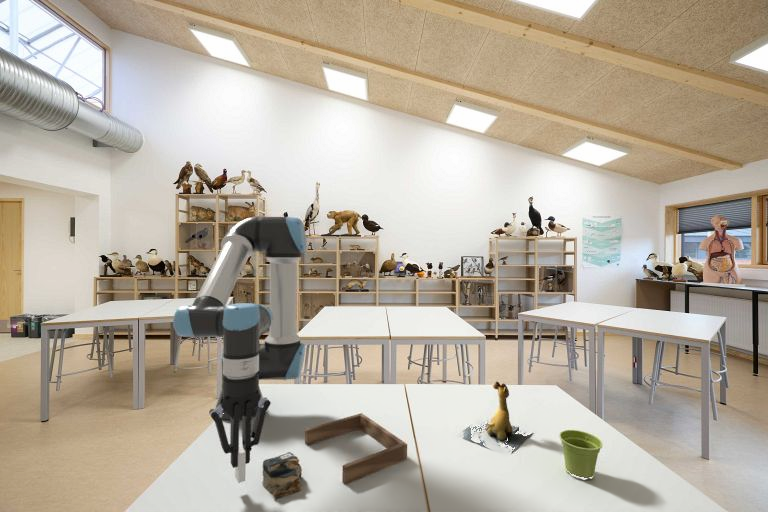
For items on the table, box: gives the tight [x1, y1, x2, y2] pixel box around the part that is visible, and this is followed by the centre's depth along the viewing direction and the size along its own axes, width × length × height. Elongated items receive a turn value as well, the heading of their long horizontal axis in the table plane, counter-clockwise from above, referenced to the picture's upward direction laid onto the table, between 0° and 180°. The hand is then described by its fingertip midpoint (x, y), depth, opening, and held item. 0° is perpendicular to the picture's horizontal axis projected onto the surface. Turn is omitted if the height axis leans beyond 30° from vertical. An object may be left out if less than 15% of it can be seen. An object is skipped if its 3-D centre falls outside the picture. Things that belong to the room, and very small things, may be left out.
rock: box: [262, 451, 303, 499], centre depth 87 cm, size 9×9×6 cm
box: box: [304, 412, 408, 485], centre depth 101 cm, size 22×19×4 cm
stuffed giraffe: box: [461, 381, 530, 450], centre depth 112 cm, size 16×18×16 cm
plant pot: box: [558, 429, 603, 478], centre depth 93 cm, size 9×9×9 cm
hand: (240, 478), depth 84 cm, fingers closed
